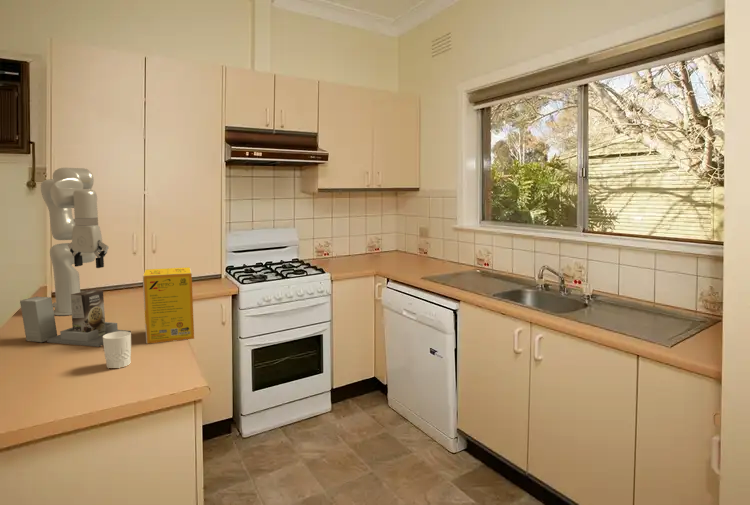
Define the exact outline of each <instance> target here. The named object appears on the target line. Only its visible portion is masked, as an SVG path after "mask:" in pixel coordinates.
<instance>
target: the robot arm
mask: <svg viewBox="0 0 750 505" xmlns="http://www.w3.org/2000/svg"><path fill="white" fill-rule="evenodd" d="M94 182H95V179H94V175H93V173H92V172H91V170H89V169H87V168H84V167H61V168H57V169H55V170H54V172H53V173H52V179H44V180H43V181H42V182H41V184H40V193H41V196H42V199H43V201H44V203H45V205H46V206H47V210H48V213H49V224H50V231H51V235H52V238H53V239H54V240H57V241H71V242H64V243H63V242H62V243H57V244H53V245H52V246H51V247H50V249H49V256H50V261H51V264H52V269H53V279H54V292H55V301H54V302H52V304H53V308H54V309H53V311H54V316H72V309H71V294H75V293H80V292H81V281H80V273H79V270H78V269H76V267H77V268H78V267H81V266H83V264H87V263H92V262H94V261H95V268H96V269H100V268H104V267H105V260H104V258H105V257H106V254H108V250H109V246H108V245H107V244H106V243H104V242H103V236H102V231H101V228H100V226H99V216H98V213H99V212H98V211H99V210H98V196H97V192H96V191H95V190H93V189H92V188H93V185H94ZM72 209H73V212H72ZM73 213H74V214H73ZM73 215H74V218H73ZM72 265H74V266H72Z"/></svg>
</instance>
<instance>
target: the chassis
mask: <svg viewBox="0 0 750 505" xmlns="http://www.w3.org/2000/svg"><path fill="white" fill-rule="evenodd" d="M119 331H127V332H130V333H131V334H132V330H126V329H125V330H123V329H118V322H108V321H105V332H102V333H100V334H98V330H93V331H90V332H88V333H85V332H73V326H72V327H70V328H67V329H64V330H60V331H59V332H60V333H59V335H58V334H57V336H55V337H52V338H49V339H47V341H46V343H51V344H52V343H53V344H63V345H64V344H65V345H75V346H87V347H103V346H104V345H103V336H104V335H105V334H108V333H112V332H119Z"/></svg>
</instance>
